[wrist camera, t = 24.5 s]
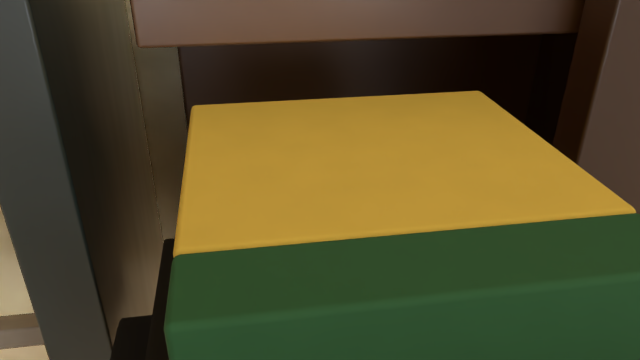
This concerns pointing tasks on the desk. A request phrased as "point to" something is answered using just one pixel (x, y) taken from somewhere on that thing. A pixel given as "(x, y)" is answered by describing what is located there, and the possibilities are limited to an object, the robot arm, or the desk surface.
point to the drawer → (206, 89)
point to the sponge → (395, 237)
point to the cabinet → (605, 98)
